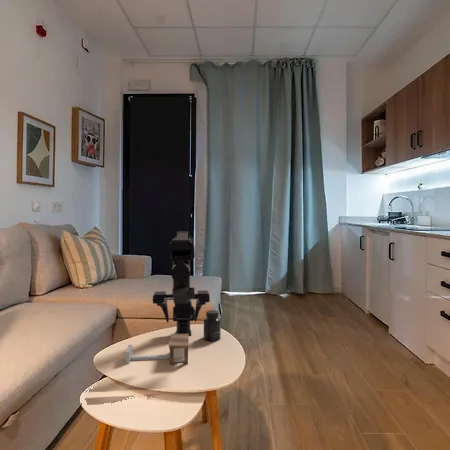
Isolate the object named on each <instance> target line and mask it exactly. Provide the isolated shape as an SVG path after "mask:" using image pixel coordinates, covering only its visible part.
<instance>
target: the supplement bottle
mask: <svg viewBox="0 0 450 450" xmlns="http://www.w3.org/2000/svg"><path fill="white" fill-rule="evenodd" d="M219 316H220V315H219V310H212V309H211V310H206V315H205V318H204V320H203V340H204V341H206V342H211V343H212V342H218V341H220V340H221V332H222V331H221V329H222V327H221V326H222V323H221V322H222V321H221V319H220V318H219Z"/></svg>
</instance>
